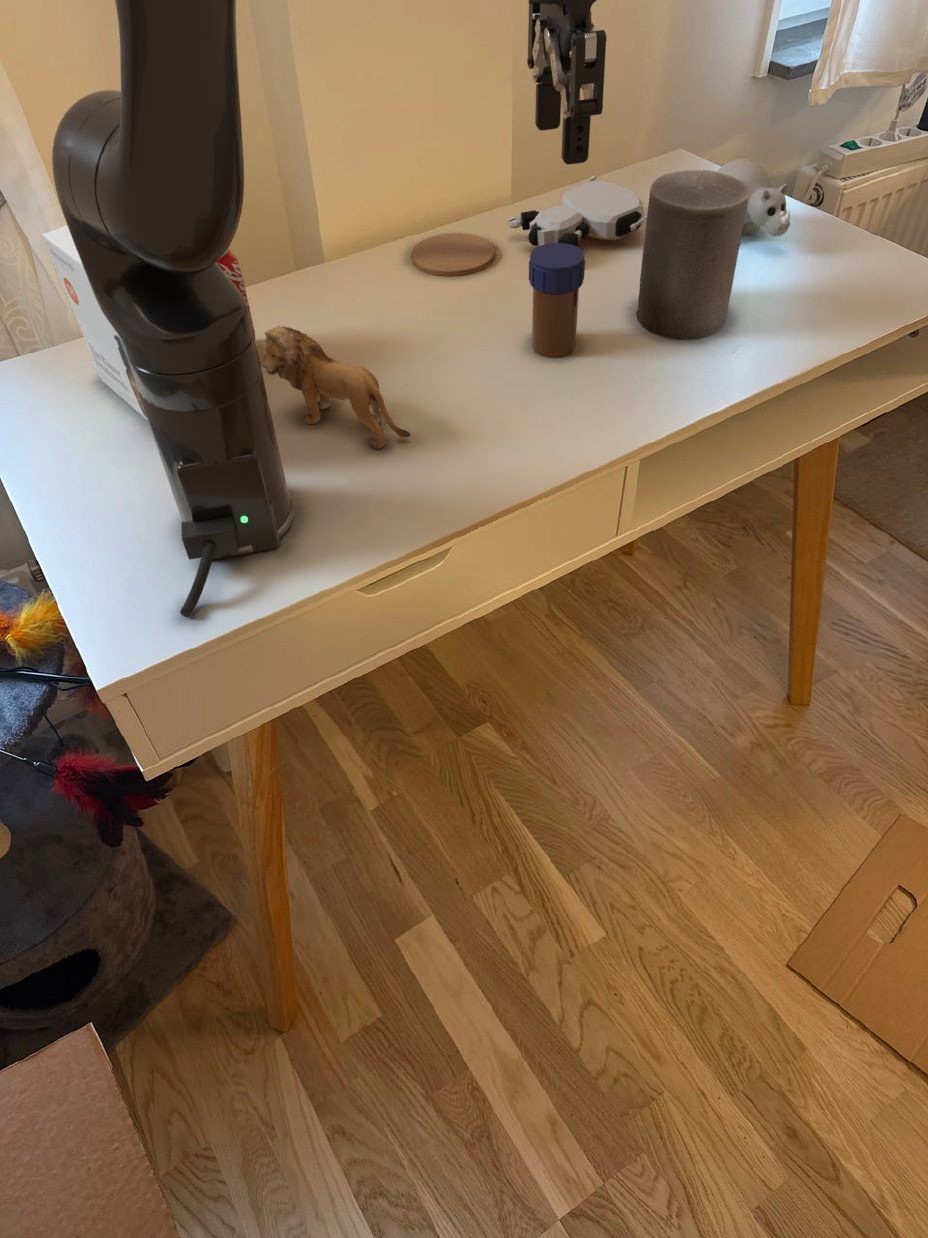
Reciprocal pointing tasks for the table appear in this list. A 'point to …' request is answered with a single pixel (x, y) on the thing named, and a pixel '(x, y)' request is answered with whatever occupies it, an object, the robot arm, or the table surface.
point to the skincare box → (93, 319)
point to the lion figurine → (325, 379)
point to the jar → (554, 323)
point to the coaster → (452, 254)
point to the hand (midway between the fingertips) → (560, 144)
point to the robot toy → (584, 215)
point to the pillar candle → (690, 252)
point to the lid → (556, 268)
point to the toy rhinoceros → (760, 198)
